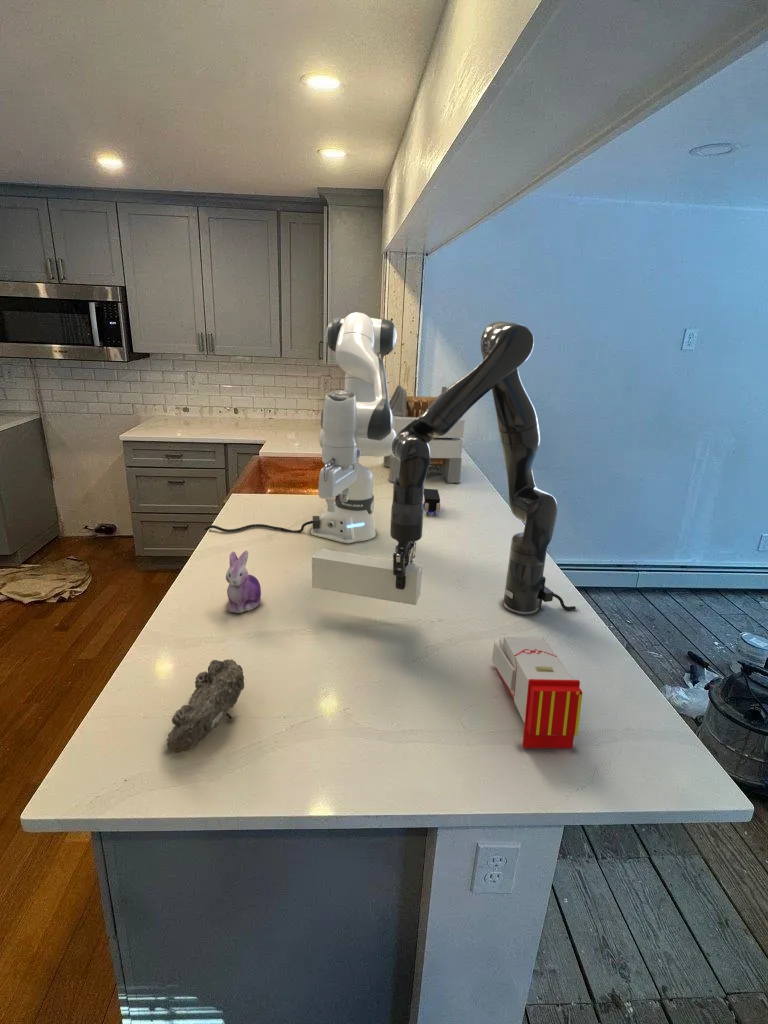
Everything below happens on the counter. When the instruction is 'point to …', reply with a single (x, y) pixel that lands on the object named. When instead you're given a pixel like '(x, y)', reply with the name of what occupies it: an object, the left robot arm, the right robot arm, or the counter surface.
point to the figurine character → (431, 501)
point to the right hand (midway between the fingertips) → (403, 582)
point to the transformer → (441, 448)
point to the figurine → (241, 585)
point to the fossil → (206, 705)
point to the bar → (364, 576)
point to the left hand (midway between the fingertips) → (338, 506)
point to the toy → (539, 691)
